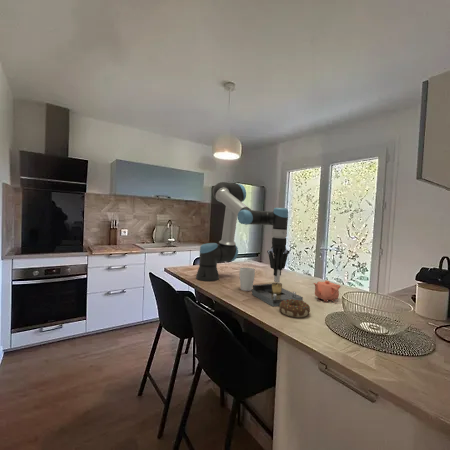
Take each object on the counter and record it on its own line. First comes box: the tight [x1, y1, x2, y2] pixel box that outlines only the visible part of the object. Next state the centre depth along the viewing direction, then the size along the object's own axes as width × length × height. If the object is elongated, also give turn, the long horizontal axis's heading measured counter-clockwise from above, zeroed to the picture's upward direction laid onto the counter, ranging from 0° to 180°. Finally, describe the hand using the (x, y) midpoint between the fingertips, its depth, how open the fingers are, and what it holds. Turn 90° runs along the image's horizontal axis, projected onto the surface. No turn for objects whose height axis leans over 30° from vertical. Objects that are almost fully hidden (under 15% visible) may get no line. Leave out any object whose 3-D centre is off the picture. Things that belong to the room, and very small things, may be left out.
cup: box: [238, 267, 256, 292], centre depth 156 cm, size 9×9×12 cm
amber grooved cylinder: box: [271, 282, 283, 295], centre depth 140 cm, size 5×5×8 cm
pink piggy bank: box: [312, 280, 341, 303], centre depth 143 cm, size 14×12×10 cm
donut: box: [278, 299, 311, 318], centre depth 121 cm, size 14×14×5 cm
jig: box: [251, 283, 304, 308], centre depth 141 cm, size 20×18×5 cm
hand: (276, 281), depth 141 cm, fingers closed
